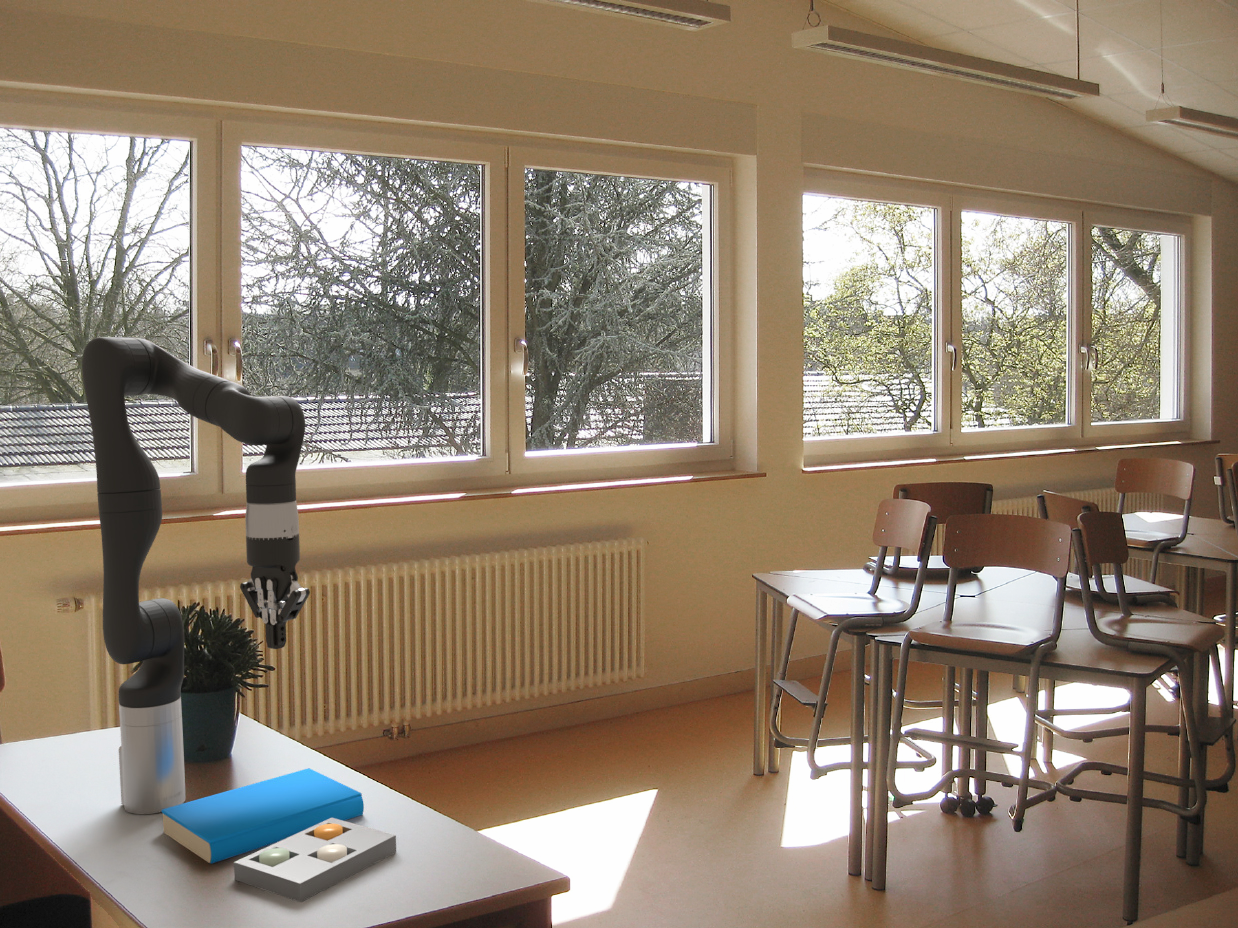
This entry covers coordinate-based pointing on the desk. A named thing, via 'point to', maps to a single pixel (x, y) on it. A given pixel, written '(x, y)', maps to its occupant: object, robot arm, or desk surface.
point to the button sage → (274, 856)
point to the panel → (315, 861)
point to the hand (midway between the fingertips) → (276, 647)
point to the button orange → (328, 831)
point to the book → (259, 814)
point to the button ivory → (332, 852)
